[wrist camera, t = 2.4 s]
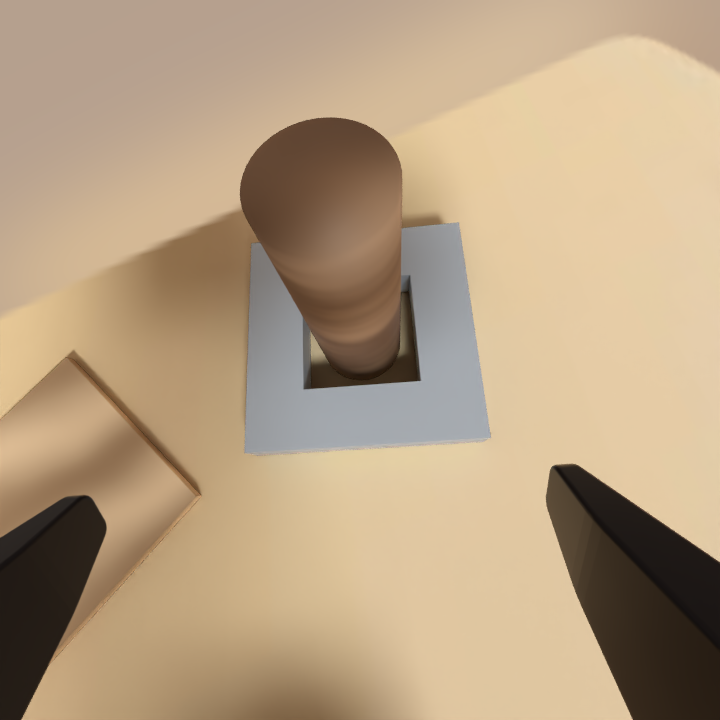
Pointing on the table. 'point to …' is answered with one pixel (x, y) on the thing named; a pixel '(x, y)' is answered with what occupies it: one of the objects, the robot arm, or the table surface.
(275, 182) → the walnut dowel
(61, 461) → the wooden coaster
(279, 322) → the holder block
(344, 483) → the table surface
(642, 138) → the table surface
